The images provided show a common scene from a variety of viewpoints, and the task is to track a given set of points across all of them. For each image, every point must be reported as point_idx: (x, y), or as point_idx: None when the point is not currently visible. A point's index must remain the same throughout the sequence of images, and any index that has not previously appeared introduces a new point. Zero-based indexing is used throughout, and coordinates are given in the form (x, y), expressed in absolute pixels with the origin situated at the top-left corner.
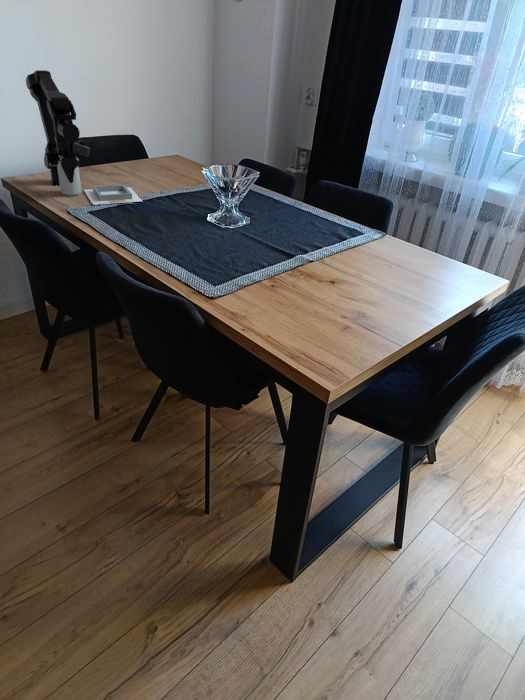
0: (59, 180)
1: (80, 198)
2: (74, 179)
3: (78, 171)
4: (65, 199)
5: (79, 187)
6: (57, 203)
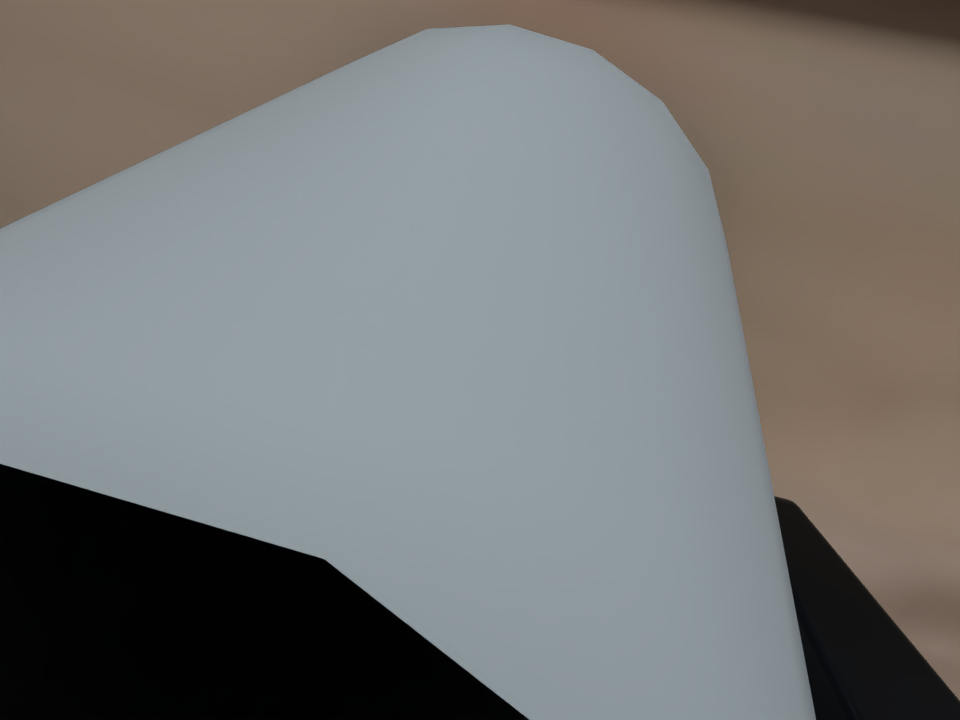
0: (420, 644)
1: (935, 210)
2: (770, 488)
3: (583, 407)
4: (801, 475)
5: (678, 166)
6: (932, 639)
